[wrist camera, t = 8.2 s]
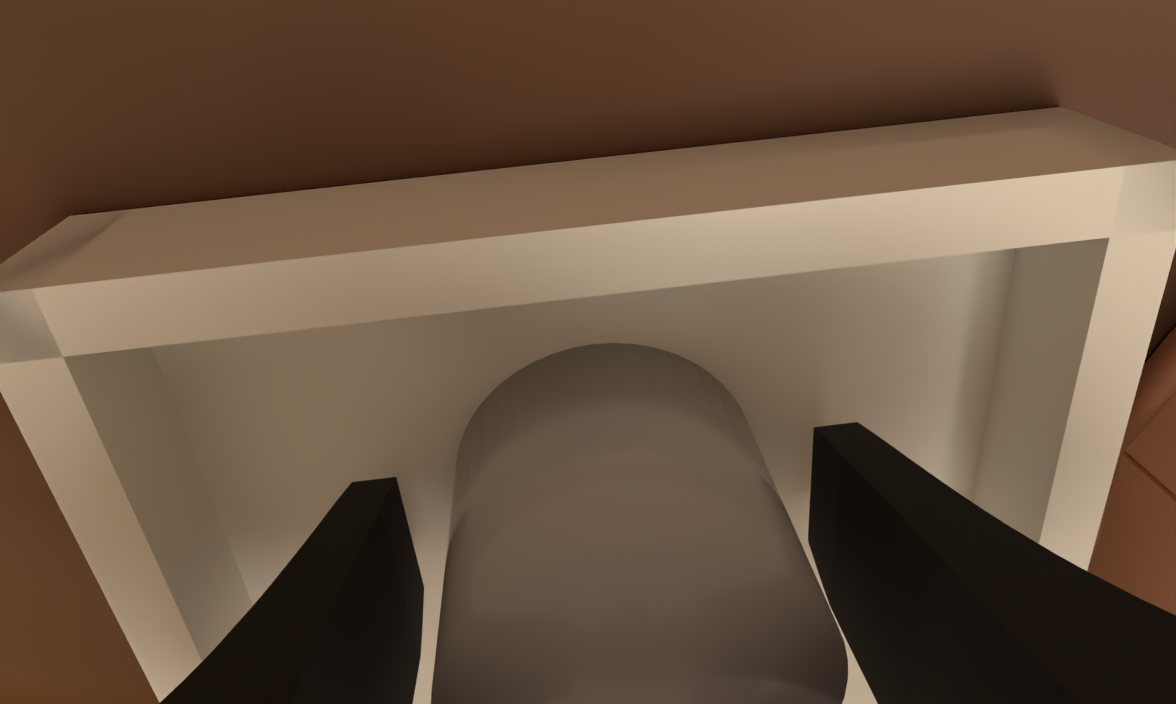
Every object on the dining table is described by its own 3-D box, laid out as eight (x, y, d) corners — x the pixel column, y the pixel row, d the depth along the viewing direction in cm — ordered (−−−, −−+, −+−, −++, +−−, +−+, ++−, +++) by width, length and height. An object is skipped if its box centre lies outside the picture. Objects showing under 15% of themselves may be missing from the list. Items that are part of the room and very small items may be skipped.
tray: (919, 876, 20) (970, 998, 17) (372, 948, 19) (354, 1082, 17) (1061, 106, 11) (1200, 157, 9) (69, 215, 11) (-49, 296, 8)
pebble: (751, 567, 13) (836, 804, 10) (480, 600, 13) (467, 851, 10) (754, 325, 11) (862, 517, 8) (431, 362, 11) (390, 575, 8)
